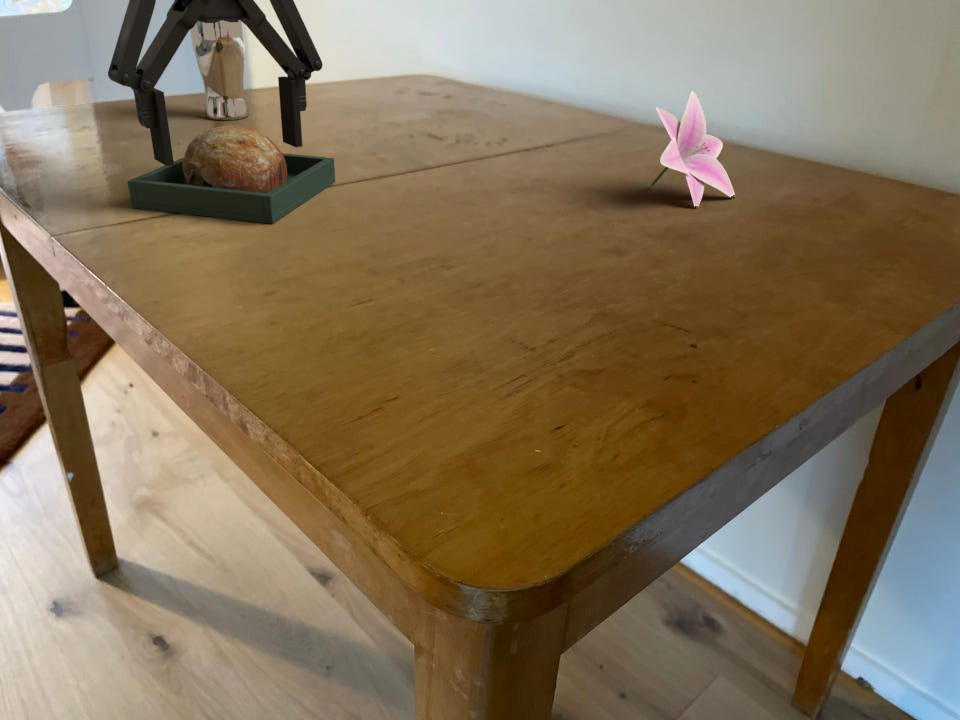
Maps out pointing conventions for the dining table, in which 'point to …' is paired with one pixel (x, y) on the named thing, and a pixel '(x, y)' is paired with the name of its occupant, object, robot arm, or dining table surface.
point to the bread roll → (234, 160)
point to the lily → (693, 151)
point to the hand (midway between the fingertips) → (231, 153)
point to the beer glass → (221, 68)
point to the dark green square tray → (232, 192)
